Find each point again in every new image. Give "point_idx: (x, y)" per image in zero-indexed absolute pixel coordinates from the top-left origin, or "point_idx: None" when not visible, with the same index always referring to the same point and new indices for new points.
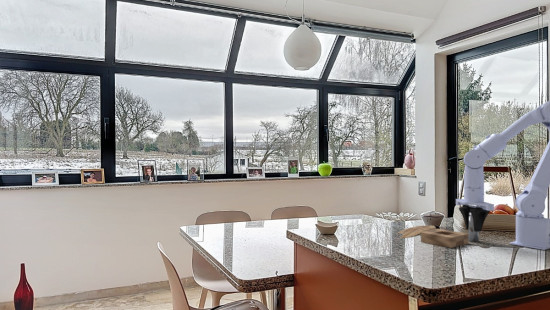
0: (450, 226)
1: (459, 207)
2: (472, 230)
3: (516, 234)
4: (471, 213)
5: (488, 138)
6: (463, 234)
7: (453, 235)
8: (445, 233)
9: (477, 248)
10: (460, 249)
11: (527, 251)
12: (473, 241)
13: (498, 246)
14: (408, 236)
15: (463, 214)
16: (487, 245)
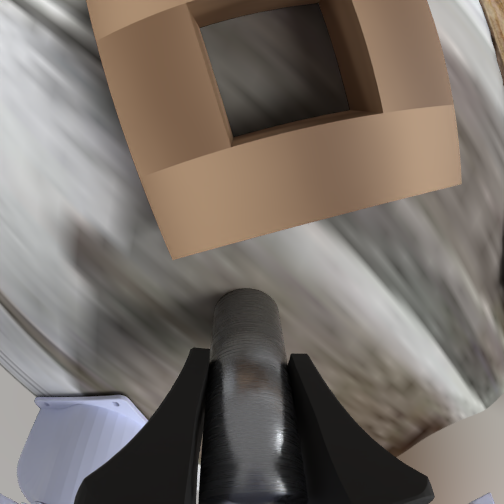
0: (487, 397)
1: (429, 500)
2: (226, 348)
3: (113, 444)
4: (236, 490)
5: None
6: (156, 188)
7: (144, 48)
8: (339, 118)
9: (55, 172)
10: (62, 41)
11: (13, 345)
12: (224, 297)
13: (91, 326)
14: (500, 27)
15: (352, 451)
16: (117, 296)
